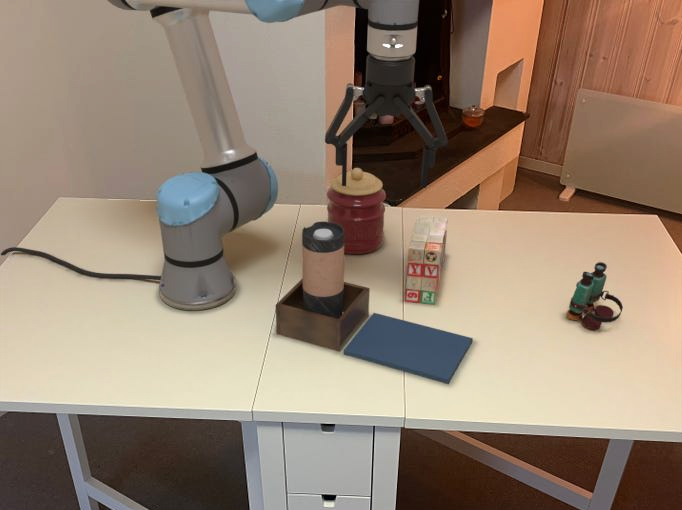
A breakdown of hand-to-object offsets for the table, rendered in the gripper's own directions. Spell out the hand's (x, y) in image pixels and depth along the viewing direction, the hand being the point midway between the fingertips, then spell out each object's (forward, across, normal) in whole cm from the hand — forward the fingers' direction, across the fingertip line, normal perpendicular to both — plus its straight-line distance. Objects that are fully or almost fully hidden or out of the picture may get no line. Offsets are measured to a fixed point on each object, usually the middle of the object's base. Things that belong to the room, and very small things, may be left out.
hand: (383, 184), depth 130 cm
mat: (+28, +6, -9) cm, 30 cm away
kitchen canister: (+28, -4, +33) cm, 43 cm away
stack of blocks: (+28, +11, +17) cm, 35 cm away
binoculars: (+28, +42, +2) cm, 51 cm away
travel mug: (+28, -10, -2) cm, 30 cm away
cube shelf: (+28, -10, -2) cm, 30 cm away
